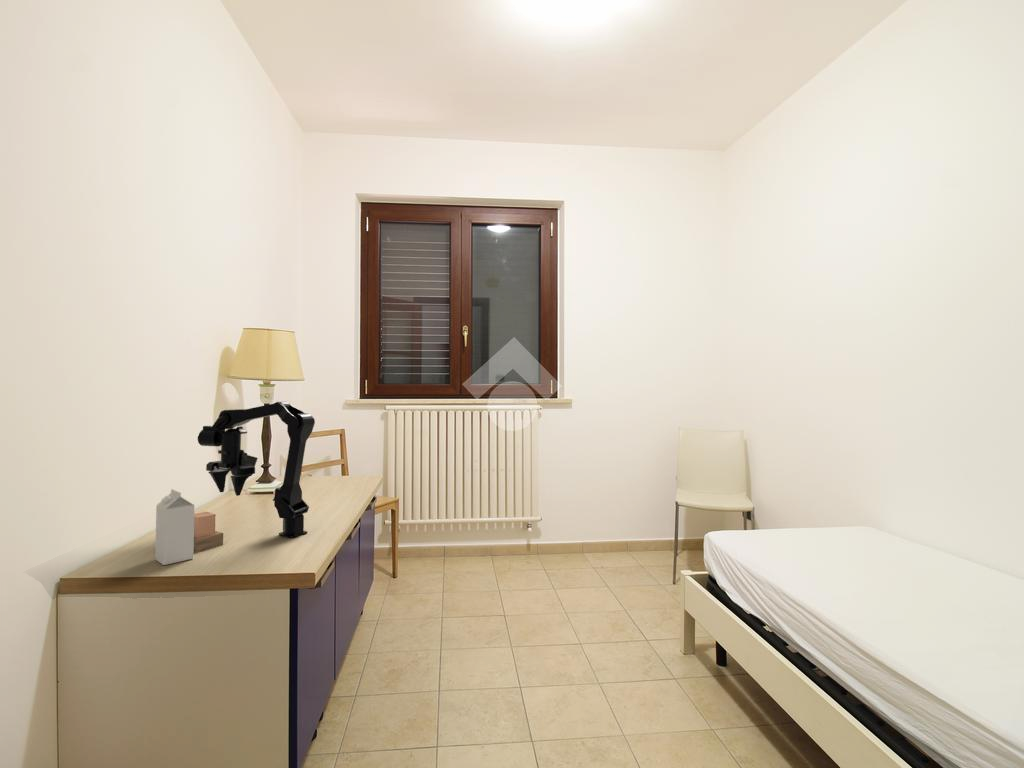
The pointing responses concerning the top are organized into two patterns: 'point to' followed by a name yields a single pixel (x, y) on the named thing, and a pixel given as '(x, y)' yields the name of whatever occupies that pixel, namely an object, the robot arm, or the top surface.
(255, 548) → the top surface
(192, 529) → the milk carton
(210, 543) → the walnut block
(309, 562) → the top surface
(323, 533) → the top surface
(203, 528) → the terracotta cube
